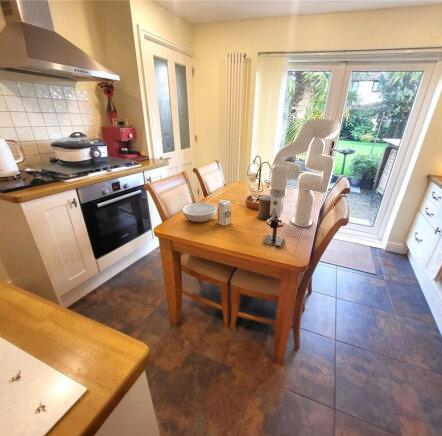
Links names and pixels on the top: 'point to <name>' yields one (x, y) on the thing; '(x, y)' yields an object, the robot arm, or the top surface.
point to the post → (274, 239)
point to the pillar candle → (264, 207)
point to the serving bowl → (199, 211)
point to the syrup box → (224, 212)
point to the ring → (278, 224)
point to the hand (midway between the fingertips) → (274, 226)
